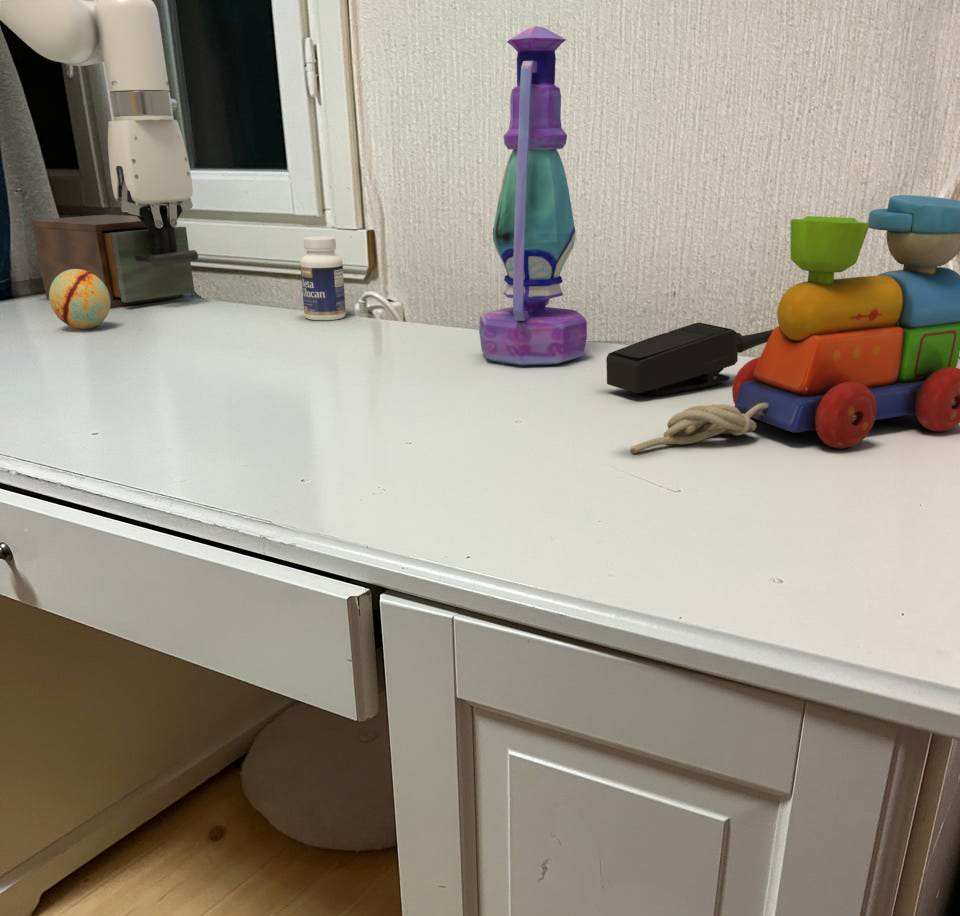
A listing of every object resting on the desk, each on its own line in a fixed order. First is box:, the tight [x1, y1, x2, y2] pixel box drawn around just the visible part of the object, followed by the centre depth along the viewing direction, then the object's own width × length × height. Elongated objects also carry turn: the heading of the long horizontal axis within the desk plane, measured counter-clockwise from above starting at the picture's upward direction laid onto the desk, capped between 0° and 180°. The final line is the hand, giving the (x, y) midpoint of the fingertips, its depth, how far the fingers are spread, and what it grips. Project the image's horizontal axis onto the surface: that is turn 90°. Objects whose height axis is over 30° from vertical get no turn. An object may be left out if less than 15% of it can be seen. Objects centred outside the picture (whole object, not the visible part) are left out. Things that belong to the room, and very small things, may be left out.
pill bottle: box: [299, 235, 347, 321], centre depth 127 cm, size 5×5×10 cm
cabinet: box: [30, 214, 185, 309], centre depth 144 cm, size 16×13×11 cm
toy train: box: [629, 194, 960, 454], centre depth 74 cm, size 12×29×17 cm, turn 115°
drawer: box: [101, 226, 199, 302], centre depth 141 cm, size 20×12×9 cm, turn 53°
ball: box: [48, 269, 111, 330], centre depth 121 cm, size 7×7×7 cm
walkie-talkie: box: [605, 322, 774, 396], centre depth 92 cm, size 6×6×20 cm
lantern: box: [478, 25, 588, 366], centre depth 98 cm, size 13×12×30 cm
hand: (166, 258), depth 137 cm, fingers closed
